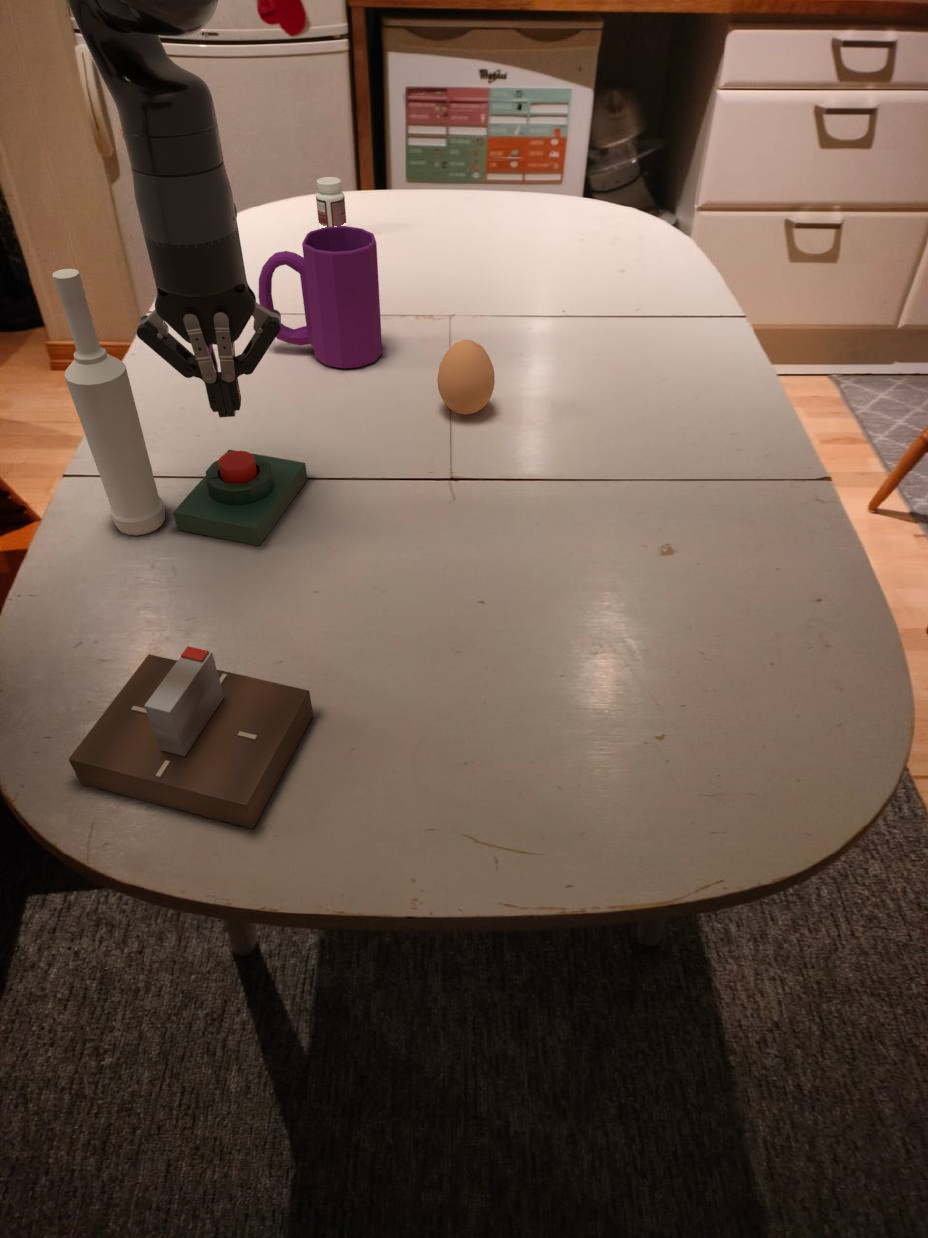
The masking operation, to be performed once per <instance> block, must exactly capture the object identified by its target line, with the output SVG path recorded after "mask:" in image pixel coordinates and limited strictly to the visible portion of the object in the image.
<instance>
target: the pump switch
mask: <svg viewBox="0 0 928 1238" xmlns="http://www.w3.org/2000/svg"><path fill="white" fill-rule="evenodd" d="M233 451H236V450H235V449H228V450H226V452H225V453H224V454H226V453H229V452H233ZM250 453H251V454H252V455H253V456H254V457H255V462H256V468H257V476H256V477H255V479H253V480H250V481H248V482H246V483H239V484H232V483H226V482H224V481H223V480H222V478H221V474H220V469H219V464H218V461H219V459H218V460H215V461H213V462H212V463H211V465H209V467H208V468H207V469H206V470H205V475H204V476H203V478H202V479H201V480H199V482H198V484H196V485H195V487H194V488H193V489H192V490H191V492H189V493H188V494H187V496H186V497H185V498H184V499H183V500H182V501H181V503H179V505H178V506H177V507H176V508H175V509H174V511H173V512H172V515H173V518H174V521H175V525H176V529H177V531H182V532H186V533H192V534H196V535H197V534H198V535H203V536H207V537H212V538H217V539H222V540H227V541H233V542H238V543H244V544H247V545H253V546H261V545H262V543H263V542H264V541H265V540H266V538H267V536H268V535H269V534H270V532H271V531H272V529H273V528H274V527H275V525H276V524H277V523H278V521H279V520H280V518H281V517H282V516H283V514H284V513H285V511H286V510H287V509H288V507H289V506H290V505H291V503H292V502H293V500H294V499H295V498H296V497H297V495H298V494H299V492H300V491H301V489H302V488H303V487H304V486H305V484H306V483H307V482H308V471H307V465H306V462H303V461H298V460H291V459H286V458H280V457H274V456H269V455H264V454H257V453H252V452H250Z"/></svg>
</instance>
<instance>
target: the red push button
mask: <svg viewBox="0 0 928 1238" xmlns="http://www.w3.org/2000/svg"><path fill="white" fill-rule="evenodd" d="M225 453H226V452H225ZM225 453H224V454H222V455H221V456H220V457H219V458H218V460H219V461H218V464H219V469H220V474H221V478H222V480H223V481H224V482H226V483H232V484H239V483H246V482H248V481H250V480H253V479H255V477H256V476H257V468H256V462H255V457H254V456H253V455H252V454H253V453H252V452H250V451H245V450H235V451H233V452H229V453H226V454H225ZM251 453H252V454H251Z"/></svg>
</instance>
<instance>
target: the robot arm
mask: <svg viewBox="0 0 928 1238" xmlns="http://www.w3.org/2000/svg"><path fill="white" fill-rule="evenodd" d="M66 1H67V4H68V7H69V9H70V12H71V14H72V16H73V18H74V20H75V23H76V25H77V27H78V29H79V31H80V34H81V36H82V38H83V40H84V42H85V44H86V46H87V49H88V50H89V53H90V55H91V57H92V60H93V61H94V63H95V66H96V69H97V70H98V72H99V74H100V76H101V78H102V81H103V82H104V84H105V86H106V89H107V90H108V92H109V94H110V96H111V97H112V100H113V102H114V104H115V106H116V109H117V113H118V119H119V123H120V127H121V130H122V135H123V138H124V144H125V147H126V151H127V156H128V160H129V164H130V170H131V175H132V183H133V192H134V199H135V204H136V208H137V213H138V218H139V222H140V226H141V231H142V233H143V238H144V241H145V246H146V251H147V255H148V258H149V263H150V266H151V270H152V271H151V272H152V275H153V279H154V283H155V288H156V297H155V301H154V309H153V311H151V313H150V314H148V315H142V316H141V317H140V319H139V322H138V325H137V329H136V336H137V338H138V339H139V340H140V341H142V342H143V343H144V344H145V345H146V346H148V347H149V349H151V350H152V351H153V352H155V353H156V354H157V355H158V356H159V357H160V358H161V359H163V360H164V361H165V362H166V363H167V364H168V365H170V366H171V367H172V368H173V369H175V371H177V372H178V373H179V374H180V375H181V376H183V378H186V379H191V378H197V379H200V380H201V381H202V382H203V383H204V385H205V391H206V394H207V399H208V405H209V408H210V410H211V411H212V412H213V413H217V414H218V417H219V418H231V417H236V414H237V413H236V412H237V411H240V409H241V406H242V394H241V389H240V384H239V377H240V376H242V375H248V376H249V375H252V374H253V373H254V372H255V369H256V368H257V367H258V366H259V364H260V362H261V361H262V359H263V358H264V356H265V354H266V353H267V351H268V350H269V348H270V347H271V345H272V344H273V342H274V341H275V340H276V339H277V338H276V336H277V335H278V333H279V332H280V329H281V323H282V314H281V312H280V311H279V310H277V309H275V308H274V309H272V310H270V311H269V310H268V309H266V308H265V307H263V306H261V305H260V303H258V302H257V297H256V294H255V293H254V291H253V290H252V289H251V287H250V285H249V283H248V279H247V274H246V267H245V262H244V255H243V250H242V244H241V237H240V232H239V231H240V230H239V225H238V220H237V219H238V210H237V206H236V204H235V201H234V195H233V192H232V186H231V183H230V179H229V176H228V172H227V169H226V165H225V161H224V155H223V150H222V143H221V142H222V141H221V138H220V132H219V131H220V130H219V125H218V124H219V123H218V120H217V115H216V114H217V113H216V109H215V108H216V107H215V104H214V100H213V96H212V93H211V89H210V88H209V86H208V84H207V83H206V81H204V79H202V78H201V77H200V76H198V75H196V74H195V73H194V72H191V71H189V70H187V69H185V68H183V67H181V66H180V65H178V64H176V63H175V62H174V61H173V60H172V59H171V58H170V57H169V55H168V53H167V51H166V49H165V47H164V45H163V42H162V41H161V38H160V37H168V38H169V37H170V38H181V37H182V38H183V37H189V36H192V35H194V34H196V33H198V32H200V31H202V30H203V29H204V28H205V27H206V26H207V25H208V24H209V22H210V21H211V20H212V18H213V16H214V14H215V12H216V10H217V7H218V4H219V0H66ZM252 317H253V324H252V327H253V328H252V329H253V330H254V334H253V335H252V337H251V338H250V340H249V341H248V343H247V345H246V346H245V347H244V349H243V350H242V352H241V353H240V354H238V355H236V348H235V347H236V346H235V342H236V341H237V340H238V339H239V338H240V337H241V335H242V334H243V332H244V330H245V328H246V326H247V325H248V323H249V321H250V320H251V318H252ZM170 328H171V329H172V330H174V332H175V333H176V334H177V335H179V336H180V337H181V338H182V339H183V340H184V341H185V342H187V343H188V344H190V345H191V348H192V351H193V352H191V351H190V350H189V349H188V347H185V345H183V344H182V343H181V342H180V341H179V340H177V338H175V337H174V336H173V335H172V334H171V333H170V332H169V329H170ZM213 345H215V346H216V347H217V348H216V349H217V355H218V359H219V364H218V361H217V356H216V353H215V350H214V346H213ZM219 366H220V371H219Z"/></svg>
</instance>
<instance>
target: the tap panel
mask: <svg viewBox="0 0 928 1238" xmlns="http://www.w3.org/2000/svg"><path fill="white" fill-rule="evenodd" d="M177 661H178V659H172V658H168V657H165V656H159V655H156V654H151V653H149V654H147V656H146V657H145V658H144V660H143V661H142V662H141V663H140V665H139V666H138V667H137V669H136V670H135V671H134V673H133V674H132V676H130V678H129V679H128V681H127V682H126V683H125V685H124V686H123V687H122V688H121V690H120V691H119V692H118V693H117V695H116V697H114V698H113V700H112V701H111V703H110V704H109V706H108V707H106V709H105V710H104V712H103V714H101V716H100V717H99V718H98V719H97V721H96V722H95V723H94V725H93V726H92V728H91V729H90V731H89V732H88V733H87V734H86V735H85V737H84V738H83V739H82V741H81V742H80V743H79V745H78V746H77V747H76V749H74V751H73V752H72V754H71V755H70V756H69V757H68V762H69V764H70V766H71V768H72V770H73V771H74V774H75V775H76V778H77V779H78V782H79V784H81V785H84V786H88V787H92V788H95V789H100V790H104V791H107V792H110V793H115V794H119V795H122V796H126V797H130V798H134V799H137V800H141V801H145V802H149V803H153V804H157V805H159V806H164V807H167V808H172V809H176V810H180V811H183V812H185V813H186V812H187V813H191V814H194V815H198V816H201V817H206V818H209V819H212V820H217V821H221V822H225V823H229V824H232V825H236V826H240V827H243V828H248V829H252V830H253V829H254V828H255V826H256V825H257V822H258V821H259V818H260V817H261V816H262V813H263V811H264V810H265V807H266V805H267V804H268V801H269V800H270V798H271V796H272V794H273V792H274V790H275V788H276V786H277V784H279V781H280V779H281V777H282V776H283V773H284V771H285V769H286V767H287V766H288V764H289V762H290V760H291V758H292V756H293V754H294V753H295V750H296V749H297V747H298V744H299V743H300V741H301V739H302V738H303V735H304V734H305V732H306V730H307V728H308V726H309V724H310V722H311V720H312V719H313V717H314V709H313V706H312V705H313V704H312V699H311V698H312V697H311V693H310V692H311V691H310V690H308V689H304V688H301V687H296V686H292V685H287V684H283V683H278V682H274V681H268V680H264V679H260V678H256V677H252V676H247V675H243V674H238V673H233V672H230V671H226V670H221V669H217V672H218V676H219V680H220V683H221V687H222V691H223V694H224V698H223V699H222V701H221V702H220V704H219V705H218V707H217V709H216V710H215V712H214V713H213V715H212V716H211V718H210V719H209V721H208V722H207V724H206V725H205V727H204V728H203V730H202V731H201V733H200V734H199V736H198V737H197V739H196V741H195V742H194V744H193V745H192V747H191V748H190V750H189V751H188V753H187V754H186V756H181V755H177V754H173V753H169V752H165V751H162V750H161V749H160V747H159V744H158V741H157V739H156V736H155V733H154V731H153V728H152V725H151V723H150V720H149V717H148V715H147V712H146V709H145V707H144V705H145V704H146V703H147V701H148V700H149V699H150V697H151V696H152V694H153V693H154V692H155V690H156V689H157V688H158V686H159V685H160V684H161V682H162V681H163V680H164V678H165V677H166V676H167V674H168V673H169V671H170V670H171V669H172V667H173V666H174V665H175V663H176V662H177Z"/></svg>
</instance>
